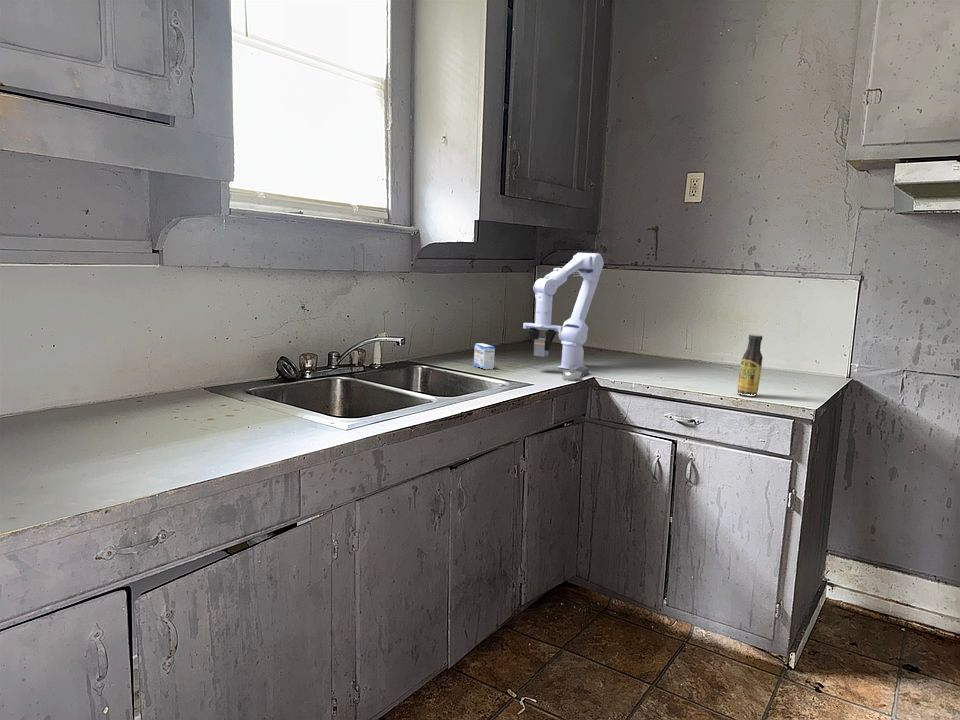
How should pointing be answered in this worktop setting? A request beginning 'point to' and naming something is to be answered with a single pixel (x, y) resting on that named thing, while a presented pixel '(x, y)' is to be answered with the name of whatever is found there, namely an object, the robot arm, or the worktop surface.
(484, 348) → the medicine box
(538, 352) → the socket
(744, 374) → the sauce bottle
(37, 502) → the worktop surface
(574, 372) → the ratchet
